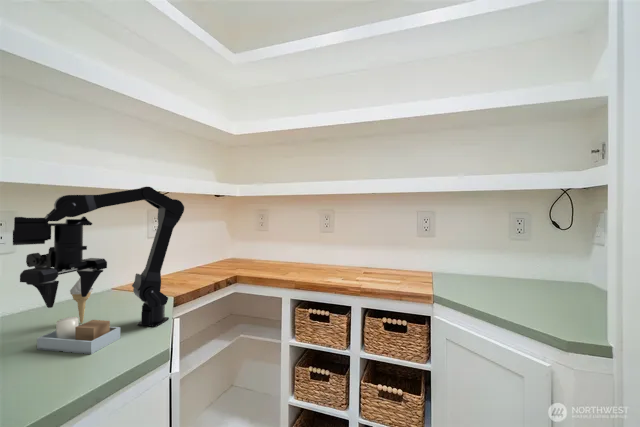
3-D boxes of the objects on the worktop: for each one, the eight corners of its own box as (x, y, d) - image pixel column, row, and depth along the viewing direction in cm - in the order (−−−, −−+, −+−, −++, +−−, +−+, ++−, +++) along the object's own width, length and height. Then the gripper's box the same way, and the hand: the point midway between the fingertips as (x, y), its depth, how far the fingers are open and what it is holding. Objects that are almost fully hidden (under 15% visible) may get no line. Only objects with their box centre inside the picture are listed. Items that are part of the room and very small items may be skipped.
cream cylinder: (66, 336, 80) (66, 316, 80) (82, 336, 80) (82, 316, 80) (51, 344, 75) (51, 323, 75) (68, 344, 75) (68, 323, 75)
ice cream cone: (97, 319, 93) (97, 272, 93) (83, 326, 88) (84, 277, 87) (79, 319, 93) (79, 272, 93) (64, 326, 87) (64, 276, 87)
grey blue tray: (71, 334, 82) (71, 323, 82) (120, 338, 81) (120, 327, 81) (37, 349, 73) (37, 337, 73) (91, 354, 72) (91, 342, 72)
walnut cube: (92, 338, 79) (92, 319, 79) (109, 339, 79) (109, 320, 79) (75, 346, 74) (75, 327, 74) (93, 348, 74) (93, 328, 74)
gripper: (74, 238, 87) (74, 290, 87) (-1, 245, 68) (-2, 312, 69) (108, 239, 86) (108, 292, 86) (41, 247, 67) (40, 315, 67)
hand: (67, 301), depth 77 cm, fingers open, 9 cm apart
